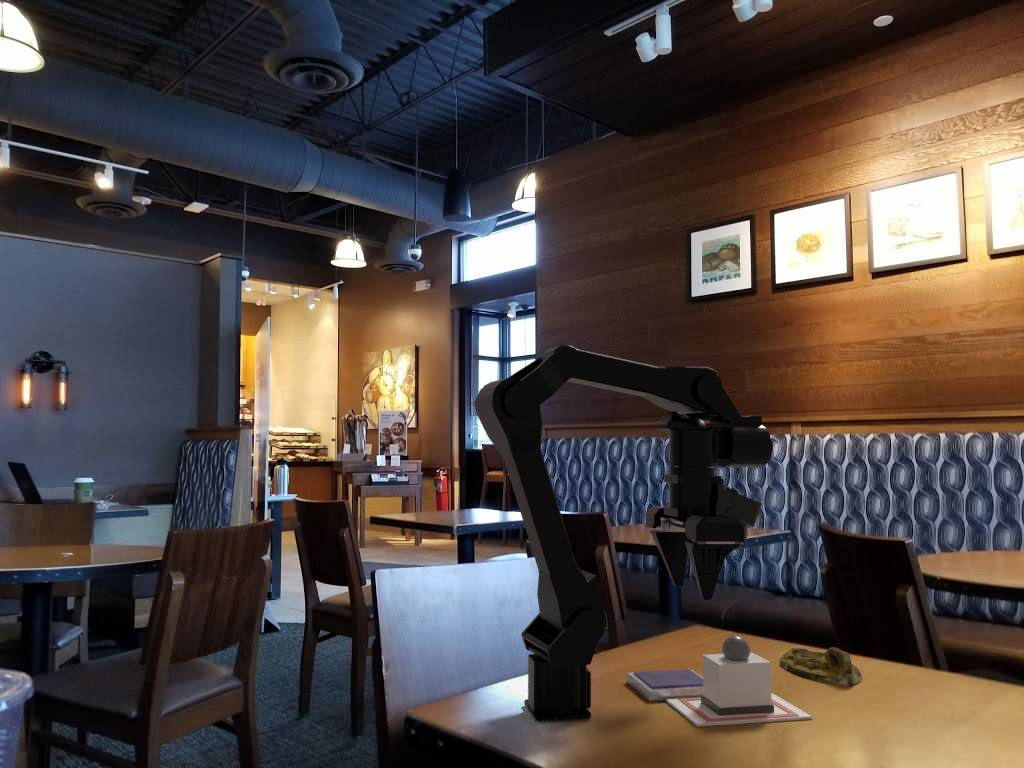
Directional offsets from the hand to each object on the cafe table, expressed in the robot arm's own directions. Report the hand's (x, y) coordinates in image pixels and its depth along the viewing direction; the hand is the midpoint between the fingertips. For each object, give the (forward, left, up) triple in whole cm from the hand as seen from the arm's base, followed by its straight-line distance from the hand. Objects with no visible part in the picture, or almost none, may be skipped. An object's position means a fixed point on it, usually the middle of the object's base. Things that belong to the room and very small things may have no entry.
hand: (692, 592), depth 98 cm
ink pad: (-1, +3, -13) cm, 13 cm away
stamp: (+3, -6, -12) cm, 14 cm away
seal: (+23, +8, -13) cm, 27 cm away
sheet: (+3, -6, -13) cm, 14 cm away
